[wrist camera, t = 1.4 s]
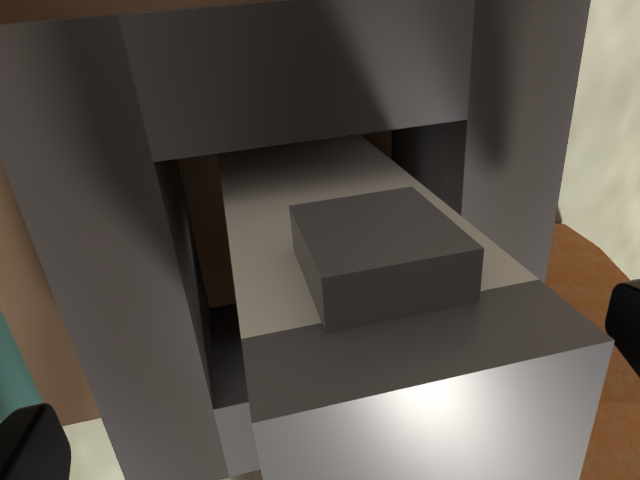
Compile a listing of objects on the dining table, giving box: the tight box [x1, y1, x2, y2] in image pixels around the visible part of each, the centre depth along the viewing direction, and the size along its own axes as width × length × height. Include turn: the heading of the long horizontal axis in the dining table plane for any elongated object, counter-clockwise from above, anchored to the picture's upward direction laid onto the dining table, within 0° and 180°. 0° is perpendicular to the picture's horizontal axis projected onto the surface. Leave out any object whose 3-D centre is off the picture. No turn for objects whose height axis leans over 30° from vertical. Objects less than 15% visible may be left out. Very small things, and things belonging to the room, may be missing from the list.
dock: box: [0, 0, 591, 480], centre depth 11 cm, size 24×12×5 cm, turn 94°
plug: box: [218, 134, 615, 480], centre depth 9 cm, size 4×4×9 cm
